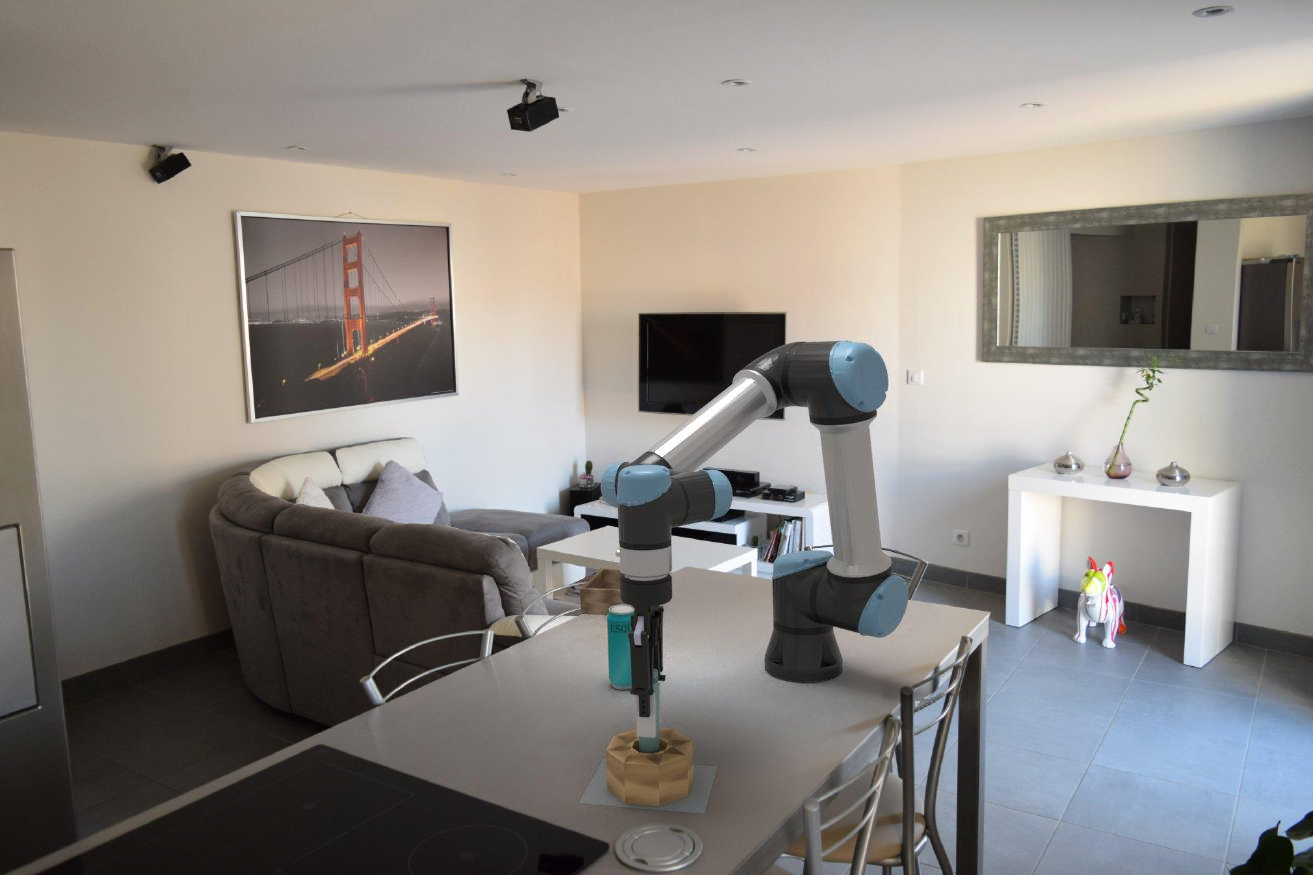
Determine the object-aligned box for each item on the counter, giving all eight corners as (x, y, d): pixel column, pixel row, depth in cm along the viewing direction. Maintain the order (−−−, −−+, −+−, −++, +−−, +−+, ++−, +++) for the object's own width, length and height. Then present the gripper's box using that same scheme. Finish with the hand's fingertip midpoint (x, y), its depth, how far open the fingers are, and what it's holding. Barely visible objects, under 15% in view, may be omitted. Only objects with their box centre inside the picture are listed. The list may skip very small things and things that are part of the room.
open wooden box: (658, 593, 237) (657, 570, 236) (642, 616, 218) (641, 591, 218) (601, 591, 240) (600, 568, 239) (580, 613, 221) (579, 589, 221)
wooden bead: (697, 768, 142) (696, 730, 141) (684, 808, 130) (683, 767, 130) (620, 762, 144) (619, 725, 144) (600, 801, 133) (599, 761, 132)
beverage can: (635, 691, 173) (633, 613, 171) (605, 690, 174) (603, 612, 173) (642, 680, 179) (640, 604, 177) (613, 678, 180) (611, 603, 178)
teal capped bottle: (661, 759, 138) (660, 667, 137) (657, 768, 135) (655, 675, 133) (641, 757, 139) (639, 666, 137) (636, 767, 136) (634, 674, 134)
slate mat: (717, 768, 142) (717, 766, 142) (704, 816, 129) (704, 813, 129) (603, 760, 146) (603, 758, 146) (578, 805, 132) (578, 803, 132)
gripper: (632, 559, 142) (636, 707, 145) (606, 588, 127) (610, 753, 129) (681, 560, 141) (683, 710, 143) (660, 590, 125) (663, 757, 128)
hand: (649, 730), depth 136 cm, fingers closed on teal capped bottle, 3 cm apart
